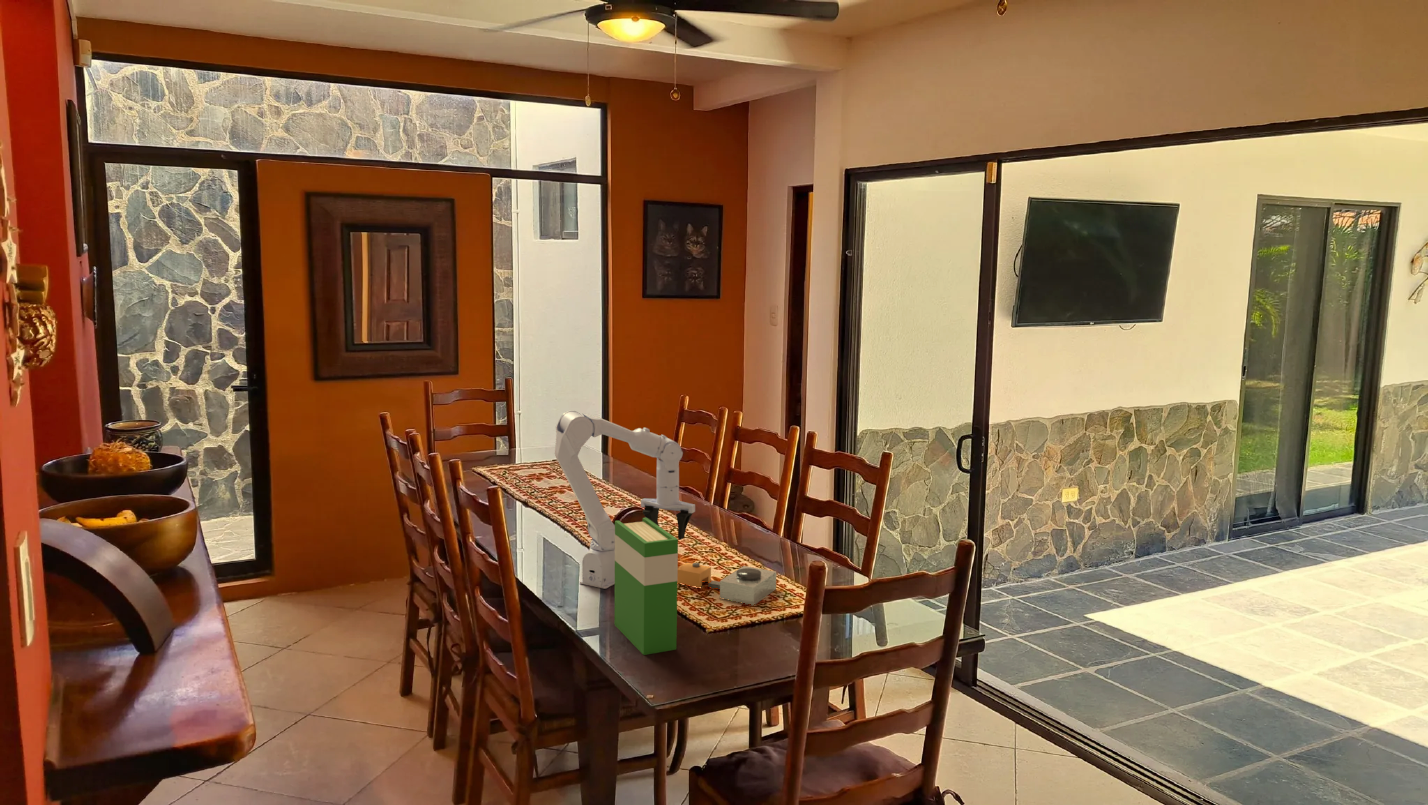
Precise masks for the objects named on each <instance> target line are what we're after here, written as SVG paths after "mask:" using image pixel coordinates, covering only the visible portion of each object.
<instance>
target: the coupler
mask: <svg viewBox="0 0 1428 805" xmlns="http://www.w3.org/2000/svg"><path fill="white" fill-rule="evenodd" d="M707 586H708V587H711V588H710V589H713V588H718V589H720V590H719V598H720V597H721V598H724V599H729V600H732V601H731V602H733V601H736V602H735V603H738V602H742V603H741V604H743V603H745V604H744V605H748V604H751V605H750V606H753V605H754V604H755V605H756V604H758V603H759V602H760V601H762V600H763V599H764V598H766V597H768V595H770V594H771V593H773V592H774V591H775V590H776V589H777V571H775V570H768V569H763V568H757V567H751V566H747V565H743V566H741V567H739V568H738V569H736V570H735V571H733V572H732V573H730V574H729V575H727V576H725V577H724V578H722V579H720V581H717V580H713V579H711V582H709V583H707ZM718 589H717V590H718ZM724 599H723V600H724ZM729 600H728V601H729ZM755 605H754V606H755Z"/></svg>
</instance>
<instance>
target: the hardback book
mask: <svg viewBox="0 0 1428 805" xmlns="http://www.w3.org/2000/svg"><path fill="white" fill-rule="evenodd" d="M614 525H615V584H614V614H613V615H614V620H613V621H614V626H615V627H616V628H617V629H618V630H619V631H620V632H621V633H622V634H623V635H624V636H625V638H627V640H629V641H630V643H631V644H632V645H633V646H634V647H635V648H636V649H637V650H638V651H639V652H640V653H641V654H642V655H643V656H646V655H652V654H659V653H663V652H668V651H669V652H670V651H675V650H677V633H678V630H677V629H678V627H677V626H678V584H677V575H678V567H679V566H678V564H679V559H678V558H679V539H678V537H676V536H674V535H673V534H671V533H669V531H667V530H665V529H664V528H662V527H661V526H659V524H658V525H657V524H655V523H654V522H652V521H651V520H649V519H648V518H646V517H642V521H635V522H628V523H623V522H621V521H620V520H615V521H614Z"/></svg>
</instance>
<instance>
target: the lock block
mask: <svg viewBox="0 0 1428 805" xmlns="http://www.w3.org/2000/svg"><path fill="white" fill-rule="evenodd" d="M702 581H705V582H710V581H712V566H707V565H702V564H700V563H699V562H693V563H692V562H685V563H682V564H681V565H680V566H678V575H677V583H684V584H687V585H690V586H696V587H701V586H702V585H703V582H702ZM705 582H704V583H705Z"/></svg>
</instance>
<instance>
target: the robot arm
mask: <svg viewBox="0 0 1428 805" xmlns="http://www.w3.org/2000/svg"><path fill="white" fill-rule="evenodd" d="M650 430H651V429H650V428H648V427H643V428H641V427H638V428H635V429H634V430H630V429H628V428H626V427H624V426H621V425H619V424H617V423H614V422H612V421H608V420H606V419H603V417H599V416H595V415H592V414H589V413H588V414H587V413H579V412H578V411H576V410H568V411H565V412H564V413H563V414H562V415H561V416H560V418H559V419H558V422H557V423H556V426H555V432H556V434H555V437H556V438H555V445H554V446H555V447H554V457H555V458H556V461H557V462H558V465H559V466H560V469H561V470H562V472H563V474H564V476H565V479H566V480H567V483H568V484H569V486H570V488H571V490H572V492H573V493H574V496H575V497H576V500H577V502H578V504H579V506H580V508H581V509H582V511H583V514H584V515H585V516H584V517H585V521H586V524H587V532H588V534H589V535H588V536H589V537H590V538H591V541H590V545H589V546H590V547H589V550H588V552H586V554H585V555H583V557H582V562H581V563H582V566H581V567H582V569H581V570H582V572H581V573H582V574H581V575H582V576H581V577H582V578H581V580H580V581H579V584H582V585H586V586H589V587H590V586H591V587H595V588H599V589H605V590H606V589H608V588H610V587H612V586H613V585H614V586H615V523H613V521H612V519H611V518H610V516H609V514H608V513H607V512H606V510H605V508H604V507H603V505H602V502H601V500H600V499H599V497H598V495H597V493H596V491H595V488H594V486H593V484H592V481H591V480H590V478H589V477H588V474H587V472H586V471H585V468H584V466H583V464H582V462H581V460H580V458H579V454H580V452H581V449H582V447H584V445H585V444H586V443H587V442H588V440H590V438H591V437H592V438H596V437H599V436H601V435H604V436H607V437H610V438H613V439H616V440H619V441H622V442H626V443H628V445H629V447H630V449H631V450H632V451H634V452H638V453H641V454H642V455H646V456H649V457H651V458H656V498H647V497H646V498H645V497H644V498H641V499H640V507H641V508H644V509H643V510H642V513H643V514H642V515H644V518H648V519H649V520H651V521H652V522H654V523H655V524H657V525H658V526H659V520H658V519H659V513H660V510H668V511H677V512H678V513H676V520H677V539H678V541H679V540H680V541H681V540H683V539H684V538H685V534H686V530H687V527H688V524H689V521H690V519H691V518H692V516H693V513H695V512H696V504H695V503H694V504H693V503H690V502H685V501H681V500H680V465H679V464H680V461H681V459H682V457H683V454H684V452H683V450H682V447H681V446H680V444H679V443H678V442H677V441H675V440H673V439H671V438H668V437H667V436H666V435H665V434H661V435H658V434H657V433H654V432H650Z"/></svg>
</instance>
